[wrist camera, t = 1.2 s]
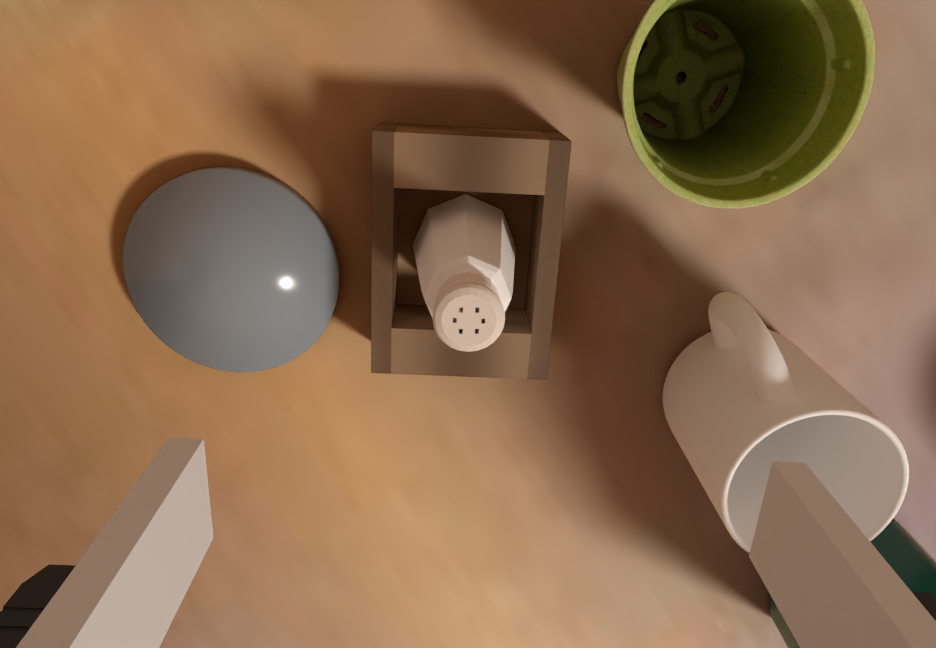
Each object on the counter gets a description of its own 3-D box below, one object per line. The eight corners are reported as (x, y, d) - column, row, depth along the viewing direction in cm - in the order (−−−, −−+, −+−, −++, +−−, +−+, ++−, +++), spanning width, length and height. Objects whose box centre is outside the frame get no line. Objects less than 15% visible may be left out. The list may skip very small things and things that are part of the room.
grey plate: (143, 360, 39) (136, 368, 38) (118, 160, 35) (109, 163, 34) (342, 368, 40) (339, 376, 39) (339, 171, 36) (336, 175, 35)
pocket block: (377, 345, 39) (371, 372, 36) (379, 122, 35) (372, 130, 32) (538, 351, 40) (546, 379, 36) (560, 132, 35) (571, 141, 32)
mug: (623, 290, 38) (680, 372, 29) (773, 237, 37) (883, 304, 28) (678, 466, 43) (743, 588, 33) (813, 422, 42) (921, 535, 32)
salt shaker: (517, 194, 36) (544, 253, 26) (513, 293, 38) (535, 385, 28) (412, 192, 36) (396, 251, 26) (413, 292, 38) (399, 383, 28)
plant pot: (643, -71, 32) (708, -110, 24) (814, 24, 34) (928, 18, 26) (549, 123, 35) (577, 147, 27) (709, 201, 37) (782, 246, 29)
